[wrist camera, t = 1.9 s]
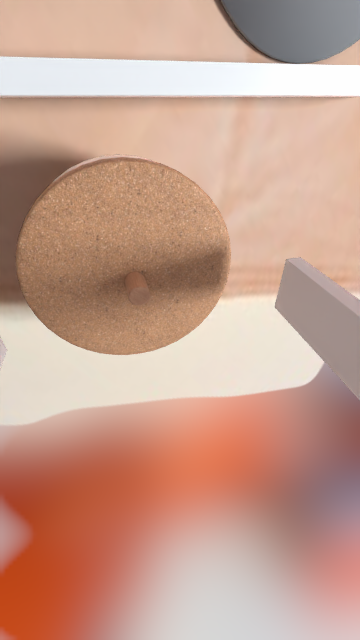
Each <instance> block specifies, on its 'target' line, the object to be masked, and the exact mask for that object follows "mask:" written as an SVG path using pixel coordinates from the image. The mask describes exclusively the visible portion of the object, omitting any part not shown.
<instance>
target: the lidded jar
mask: <svg viewBox="0 0 360 640" xmlns="http://www.w3.org/2000/svg"><path fill="white" fill-rule="evenodd" d="M15 257H16V271H17V277H18V281H19V284H20V288H21V291H22V293H23V295H24V297H25V299H26V301H27V303H28V305H29V307H30V308H31V309H32V311H33V312H34V314H35V315H36V316H37V318H38V319H39V320H40V321H41V322H42V323H43V324H44V325H45V326H46V327H47V328H48V329H50V330H51V331H52V332H54V333H55V334H56V335H58V336H59V337H61V338H62V339H64V340H66V341H68V342H70V343H71V344H73V345H76V346H78V347H81V348H84V349H86V350H90V351H94V352H98V353H104V354H113V355H130V354H138V353H144V352H149V351H153V350H156V349H159V348H162V347H165V346H167V345H169V344H171V343H174V342H176V341H178V340H179V339H181V338H182V337H184V336H186V335H187V334H189V333H190V332H191V331H192V330H194V329H195V328H196V327H197V326H199V325H200V324H201V323H202V322H203V320H204V319H205V318H206V317H207V316H208V315H209V314H210V312H211V311H212V310H213V308H214V307H215V306H216V304H217V302H218V300H219V298H220V296H221V295H222V293H223V290H224V287H225V285H226V282H227V279H228V274H229V270H230V259H231V250H230V239H229V236H228V232H227V228H226V225H225V222H224V220H223V218H222V216H221V214H220V211H219V210H218V208H217V207H216V205H215V204H214V203H213V201H212V200H211V198H210V197H209V196H208V195H207V194H206V193H205V192H204V191H203V190H202V189H201V188H200V187H199V186H198V185H197V184H196V183H194V182H193V181H192V180H190V179H189V178H187V177H186V176H184V175H183V174H182V173H180V172H178V171H176V170H174V169H172V168H170V167H168V166H165V165H163V164H161V163H157V162H155V161H152V160H149V159H146V158H142V157H138V156H132V155H120V154H117V155H106V156H99V157H96V158H92V159H89V160H85V161H83V162H81V163H79V164H77V165H75V166H73V167H71V168H69V169H68V170H66V171H65V172H64V173H62V174H61V175H60V176H59V177H57V178H56V179H55V180H54V181H53V182H52V183H51V184H50V185H49V186H48V187H47V188H46V189H45V190H44V192H43V193H42V194H41V195H40V196H39V197H38V198H37V199H36V201H35V202H34V204H33V206H32V207H31V209H30V211H29V213H28V214H27V216H26V218H25V220H24V222H23V225H22V228H21V231H20V234H19V237H18V241H17V249H16V256H15Z"/></svg>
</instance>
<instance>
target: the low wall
mask: <svg viewBox="0 0 360 640" xmlns="http://www.w3.org/2000/svg"><path fill="white" fill-rule="evenodd" d="M0 97H2V98H107V97H360V66H350V65H311V64H272V63H233V62H193V61H154V60H115V59H76V58H37V57H0Z"/></svg>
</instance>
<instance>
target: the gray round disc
mask: <svg viewBox="0 0 360 640" xmlns="http://www.w3.org/2000/svg"><path fill="white" fill-rule="evenodd" d="M221 2H222V4H223V7H224V9H225V10H226V12H227V14H228V15H229V17H230V18H231V20H232V22H233V23H234V25H235V26H236V28H237V29H238V30H239V31H240V32H241V34H242V35H243V36H244V37H245V38H246V39H247V40H248V41H249V42H250V43H251V44H252V45H253V46H254V47H256V48H257V49H258V50H259V51H261V52H263V53H264V54H266V55H268V56H269V57H271V58H274V59H277V60H279V61H282V62H287V63H295V64H301V63H312V62H316V61H320V60H323V59H327V58H329V57H331V56H334V55H336V54H338V53H340V52H342V51H343V50H345V49H347V48H348V47H350V46H351V45H353V44H354V43H356V42H357V41H358V40H359V39H360V0H221Z"/></svg>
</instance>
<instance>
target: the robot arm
mask: <svg viewBox="0 0 360 640" xmlns="http://www.w3.org/2000/svg"><path fill="white" fill-rule="evenodd" d="M275 308H276V309H277V310H278V311H279V312H280V313H281V315H282V316H283V317H284V318H285V319H286V320H287V321H288V322H289V323H290V324H291V326H292V327H293V328H294V329H295V330H296V331H297V332H298V333H299V334H300V335H301V336H302V338H303V339H304V340H305V341H306V342H307V343H308V344H309V345H310V346H311V347H312V349H313V350H314V351H315V352H316V353H317V354H318V355H319V356H320V357H321V358H322V360H323V361H324V362H325V363H326V364H327V365H328V366H329V367H330V368H331V369H332V370H333V372H334V373H335V374H336V375H337V376H338V377H339V378H340V379H341V380H342V381H343V383H344V384H345V385H346V386H347V387H348V388H349V389H350V390H351V391H352V392H353V393H354V395H355V396H356V397H357V398H358V399H359V400H360V300H359V299H358V298H356V297H355V296H353V295H352V294H351V293H349V292H348V291H346V290H345V289H344V288H342V287H341V286H340V285H338V284H337V283H335V282H334V281H333V280H331V279H330V278H328V277H327V276H326V275H324V274H323V273H322V272H320V271H319V270H317V269H316V268H315V267H313V266H312V265H310V264H309V263H308V262H306V261H305V260H304V259H302V258H301V257H299V258H291V259H286V262H285V266H284V270H283V274H282V279H281V283H280V287H279V291H278V295H277V299H276V303H275ZM6 352H7V349H6V347H5V345H4V343H3V341H2V339H1V337H0V369H1V366H2V363H3V360H4V358H5V355H6Z"/></svg>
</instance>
